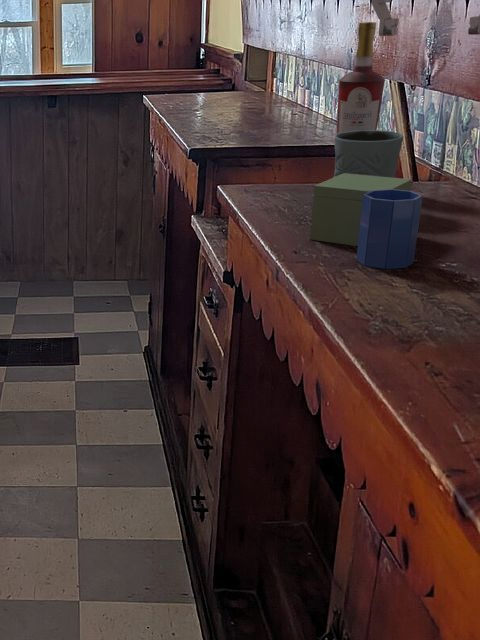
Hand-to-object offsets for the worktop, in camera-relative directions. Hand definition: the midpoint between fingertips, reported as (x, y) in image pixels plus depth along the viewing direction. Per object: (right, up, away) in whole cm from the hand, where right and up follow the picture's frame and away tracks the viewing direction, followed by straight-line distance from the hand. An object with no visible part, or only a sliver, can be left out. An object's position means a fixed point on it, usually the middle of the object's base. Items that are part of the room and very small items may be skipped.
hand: (431, 35), depth 95 cm
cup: (+4, -23, +21) cm, 31 cm away
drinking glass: (+12, -11, +47) cm, 49 cm away
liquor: (+16, -5, +60) cm, 63 cm away
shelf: (+5, -18, +32) cm, 37 cm away
